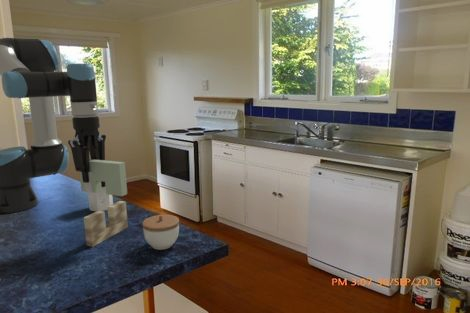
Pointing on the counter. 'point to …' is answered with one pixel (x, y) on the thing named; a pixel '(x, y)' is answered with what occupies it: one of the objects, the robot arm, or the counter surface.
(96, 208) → the jar
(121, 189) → the sage plate
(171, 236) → the lidded jar
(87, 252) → the counter surface
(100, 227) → the beech u-shaped block
